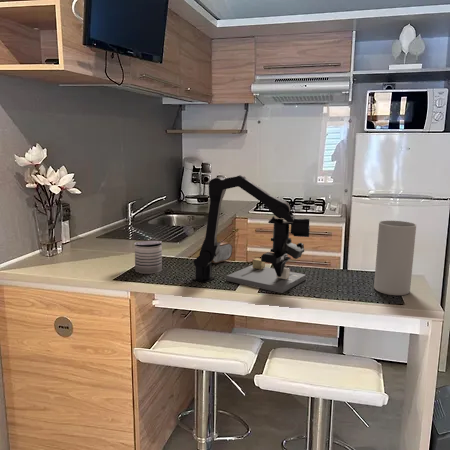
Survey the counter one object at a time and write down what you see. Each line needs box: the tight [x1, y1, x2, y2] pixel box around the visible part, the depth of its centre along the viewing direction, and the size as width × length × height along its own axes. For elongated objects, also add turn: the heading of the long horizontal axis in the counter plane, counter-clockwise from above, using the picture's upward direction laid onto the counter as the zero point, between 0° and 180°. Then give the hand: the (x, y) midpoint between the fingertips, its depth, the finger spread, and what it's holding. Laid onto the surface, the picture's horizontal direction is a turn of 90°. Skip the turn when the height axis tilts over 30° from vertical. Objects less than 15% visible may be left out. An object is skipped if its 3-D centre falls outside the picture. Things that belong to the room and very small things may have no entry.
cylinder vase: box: [373, 220, 417, 296], centre depth 168 cm, size 12×12×25 cm
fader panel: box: [226, 264, 307, 294], centre depth 179 cm, size 20×24×2 cm
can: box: [133, 240, 163, 275], centre depth 190 cm, size 11×11×12 cm
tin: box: [211, 241, 233, 264], centre depth 205 cm, size 15×3×8 cm, turn 141°
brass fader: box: [252, 257, 266, 269], centre depth 187 cm, size 3×4×4 cm
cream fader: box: [276, 267, 291, 279], centre depth 175 cm, size 3×4×4 cm
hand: (279, 276), depth 172 cm, fingers closed
